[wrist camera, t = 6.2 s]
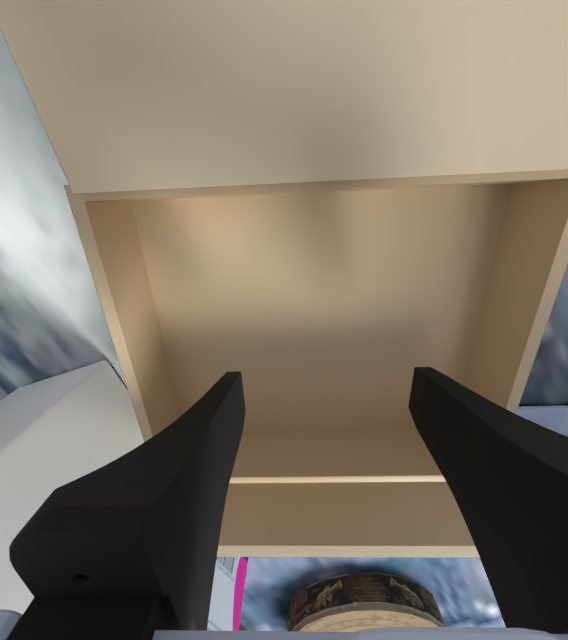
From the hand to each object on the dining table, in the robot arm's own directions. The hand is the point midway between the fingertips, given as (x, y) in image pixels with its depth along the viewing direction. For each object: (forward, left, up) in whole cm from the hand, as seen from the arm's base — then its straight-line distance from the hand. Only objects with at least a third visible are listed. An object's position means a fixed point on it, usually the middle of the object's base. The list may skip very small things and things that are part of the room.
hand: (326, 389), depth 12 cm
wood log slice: (-5, +34, -7) cm, 35 cm away
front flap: (0, -11, -1) cm, 11 cm away
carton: (0, 0, -6) cm, 6 cm away
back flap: (0, +6, +1) cm, 6 cm away
